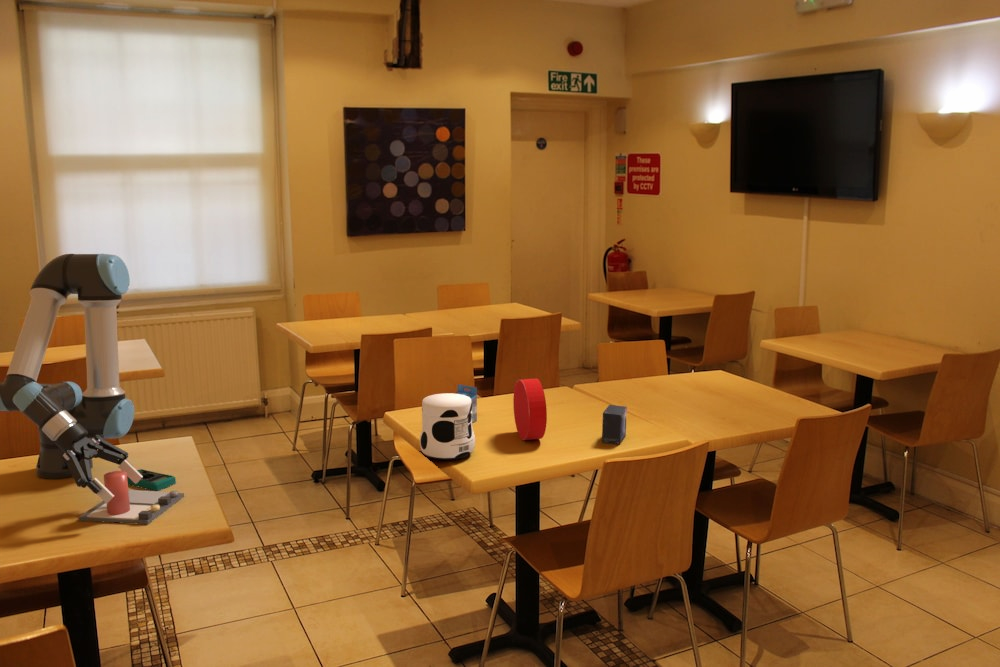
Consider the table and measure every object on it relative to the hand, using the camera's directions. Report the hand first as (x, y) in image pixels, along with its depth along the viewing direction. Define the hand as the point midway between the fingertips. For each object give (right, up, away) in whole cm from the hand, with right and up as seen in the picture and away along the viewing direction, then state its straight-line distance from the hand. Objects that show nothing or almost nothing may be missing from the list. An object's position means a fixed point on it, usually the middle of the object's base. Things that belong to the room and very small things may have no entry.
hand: (125, 489), depth 226 cm
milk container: (+81, +2, +48) cm, 94 cm away
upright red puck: (+107, +6, +64) cm, 125 cm away
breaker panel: (-1, -6, +6) cm, 9 cm away
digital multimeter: (-4, -3, +24) cm, 25 cm away
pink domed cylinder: (-2, -6, +1) cm, 6 cm away
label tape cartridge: (+85, +10, +84) cm, 119 cm away
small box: (+135, +5, +62) cm, 149 cm away
